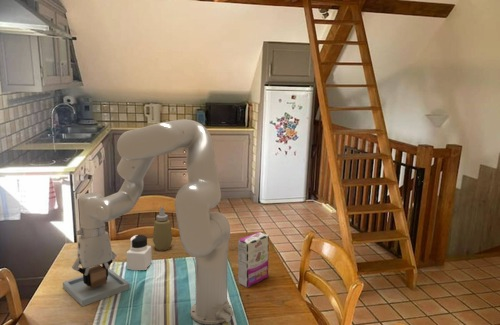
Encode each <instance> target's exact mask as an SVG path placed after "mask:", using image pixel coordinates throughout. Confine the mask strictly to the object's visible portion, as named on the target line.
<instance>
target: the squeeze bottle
mask: <svg viewBox="0 0 500 325" xmlns="http://www.w3.org/2000/svg"><path fill="white" fill-rule="evenodd" d="M155 218H156V220H154V223H153V232H152V233H153V234H152V242H153V245H154V247H155V250H157V251H167V250H169V249H170V248H171V245H172V242H173V233H172V226H171V220H170V219H169V215H168V214H166V212H165V208H164V206H160V208H159V214H157V215H156V216H155Z"/></svg>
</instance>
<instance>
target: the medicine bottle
mask: <svg viewBox="0 0 500 325" xmlns="http://www.w3.org/2000/svg"><path fill="white" fill-rule="evenodd" d="M129 240H130V242H129V243H130V245H129V246H130V248H129V250H127V251H126V254H125V255H126V270H127V269H133V270H132V271H137V270H148V268H149V267H150V266H151V264H152V263H151V262H153V260H152V258H153V257H152V246H151V245H148V237H147V236H146V235H143V234H135V235H133V236H132V237H131V238H130V239H129ZM150 263H151V264H150ZM149 265H150V266H149ZM148 266H149V267H148ZM147 267H148V268H147Z"/></svg>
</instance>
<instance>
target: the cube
mask: <svg viewBox="0 0 500 325" xmlns="http://www.w3.org/2000/svg"><path fill="white" fill-rule="evenodd" d="M89 275H90V282H91V285H90V287H91V288H95V287H98V286H101V285H103V284H106V283H107V280H106V269H104V268H103V267H102V265H101V264H100V265H97V266H93V267H90V269H89Z"/></svg>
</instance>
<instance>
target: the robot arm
mask: <svg viewBox="0 0 500 325" xmlns="http://www.w3.org/2000/svg"><path fill="white" fill-rule="evenodd" d="M116 143H117V144H116V149H117V150H116V151H117V152H118V155H119V156H120V157H121V159H120V161H119V162H118V164H117V166H116V171H117V174H118V176H120V177H121V178H122V179H124V181H123V183H122V185H121V186H120V189H119V190H118V191H117V192H115V193H112V194H110V195H107V196H103V195H102V194H101V193H100V192H88V193H84V194H81V195H80V196H79V197H78V208H79V209H78V210H79V224H80V226H79V230H76V231H75V232H76V233H75V234H76V235H77V236H78V241H77V255H76V256H77V258H76V260H75V261H74V263H73V264H72V266H71V269H72V270H74V271H76V272H79V273H80V274H82V276H83V281H84V283H85V284H86V285H87V286H90V285H91V282H90V275H89V269H90V267H94V266H97V265H100V266H102V267H103V268H104V269H106V280H107V276H108V268H109V269H110V265H111V264H112V263H113V261H114V260H115V259H116V258H117V254H116V253H115V252H114V251H112V243H111V239H110V235H109V232H108V231H106V223H109V222H111V221H113V220H115V219H118V218H119V217H121V216H124V215H126V214H127V213H130V211H132V210H133V209H134V208H135V206H136V204H137V202H138V201H139V199H140V198H141V196H142V194H143V190H144V178H145V176H146V174H147V172H148V171H149V169H150V168H151V165H152V164H153V161H154V160H155V158H156V157H158V156H163V155H168V154H172V153H174V152H177V151H182V150H186V159H185V160H186V161H185V165H186V171H187V172H186V173H187V182H188V183H186V184H184V185H183V186H182V187H180V188H179V189H178V191H177V193H176V195H175V200H174V209H175V215H176V216H175V217H176V220H177V227H178V233H179V238H180V242H181V245H182V248H183V249H184V251H185V252H186V253H187V254H188V255H189V256H191V257H192V258H195V260H194V261H195V266H194V267H195V272H194V273H195V278H194V279H195V303H194V304H192V306H191V308H190V317H191V318H192V319H193V320H194V321H195V322H196V323H199V324H203V325H217V324H221V323H224V322H226V323H229V322H231V320H232V316H234V314H235V312H234V311H233V307H232V305H231V304H230V302H229V301H228V265H229V264H228V262H229V261H228V260H229V259H228V258H229V245H230V237H231V225H230V222H229V220H228V218H227V216H226V215H224V213H222V212H219V211H211V210H213V208H215V207H216V206H218V204H219V203H220V202H221V199H222V192H221V184H220V180H219V179H220V178H219V173H218V167H217V162H216V161H217V160H216V155H215V146H214V141H213V138H212V135H211V133H210V132H209V130H208V129H207V127H205V126H204V125H203V124H202V123H200V122H198V121H196V120H193V119H187V118H184V119H183V118H182V119H174V120H171V121H170V120H169V121H163V122H159V123H154V124H151V125H147V126H143V127H139V128H135V129H131V130H126V131H125V132H123V133H122V134H121V135H120V136H119V138H118V140H117V142H116ZM80 265H81V267H80Z"/></svg>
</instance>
